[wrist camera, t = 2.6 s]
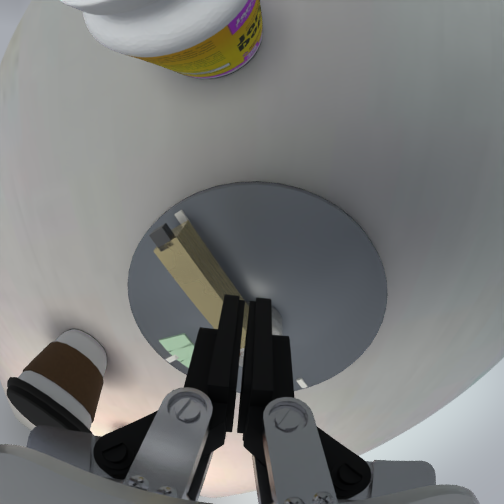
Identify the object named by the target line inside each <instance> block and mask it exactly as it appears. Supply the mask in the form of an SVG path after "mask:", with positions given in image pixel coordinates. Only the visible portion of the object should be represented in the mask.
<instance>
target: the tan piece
mask: <svg viewBox="0 0 504 504" xmlns="http://www.w3.org/2000/svg"><path fill="white" fill-rule="evenodd" d="M149 236H150V237H151V239H152V240H153V242H154V243H155V244H156V248H155V249H154V250H153V251H154V253H155V254H156V255H157V257H158V258H159V259H160V261H161V262H162V263H163V265H164V266H165V267H166V269H167V270H168V271H169V273H170V274H171V275H172V277H173V278H174V279H175V281H176V282H177V283H178V284H179V286H180V287H181V288H182V290H183V291H184V292H185V293H186V295H187V296H188V297H189V298H190V300H191V301H192V302H193V303H194V305H195V306H196V307H197V308H198V310H199V311H200V312H201V313H202V314H203V316H204V317H205V318H206V319H207V320H208V322H209V323H210V324H211V325H212V326H213V328H214V329H218V325H219V320H220V315H221V310H222V305H223V300H224V295H225V294H228V295H237V296H240V299H239V300H244V299H243V298H242V296H241V295H240V293H239V292H238V291H237V289H236V288H235V286H234V285H233V284H232V282H231V281H230V279H229V278H228V276H227V275H226V274H225V272H224V271H223V269H222V268H221V266H220V265H219V264H218V262H217V261H216V259H215V258H214V256H213V255H212V253H211V252H210V251H209V249H208V248H207V246H206V245H205V243H204V242H203V240H202V239H201V237H200V236H199V234H198V233H197V231H196V230H195V228H194V227H193V226H192V224H191V223H190V221H189V220H187V221H186V222H184V223H182V224H181V225H179V226H177V227H175V228H174V229H172V230H171V229H170V228H169V226H168V225H167V223H164V224H163V225H161V226H160V227H158V228H156V229H155V230H153V231H152V233H151V234H150V235H149ZM249 304H250V302H245V307H244V317H243V328H242V338H241V349H240V359H239V366H241V367H243V357H244V347H245V339H246V330H247V322H248V313H249ZM272 335H282V318H281V316H280V314H279V312H278V311H277V310H276V309H275V308H273V307H272Z"/></svg>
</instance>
